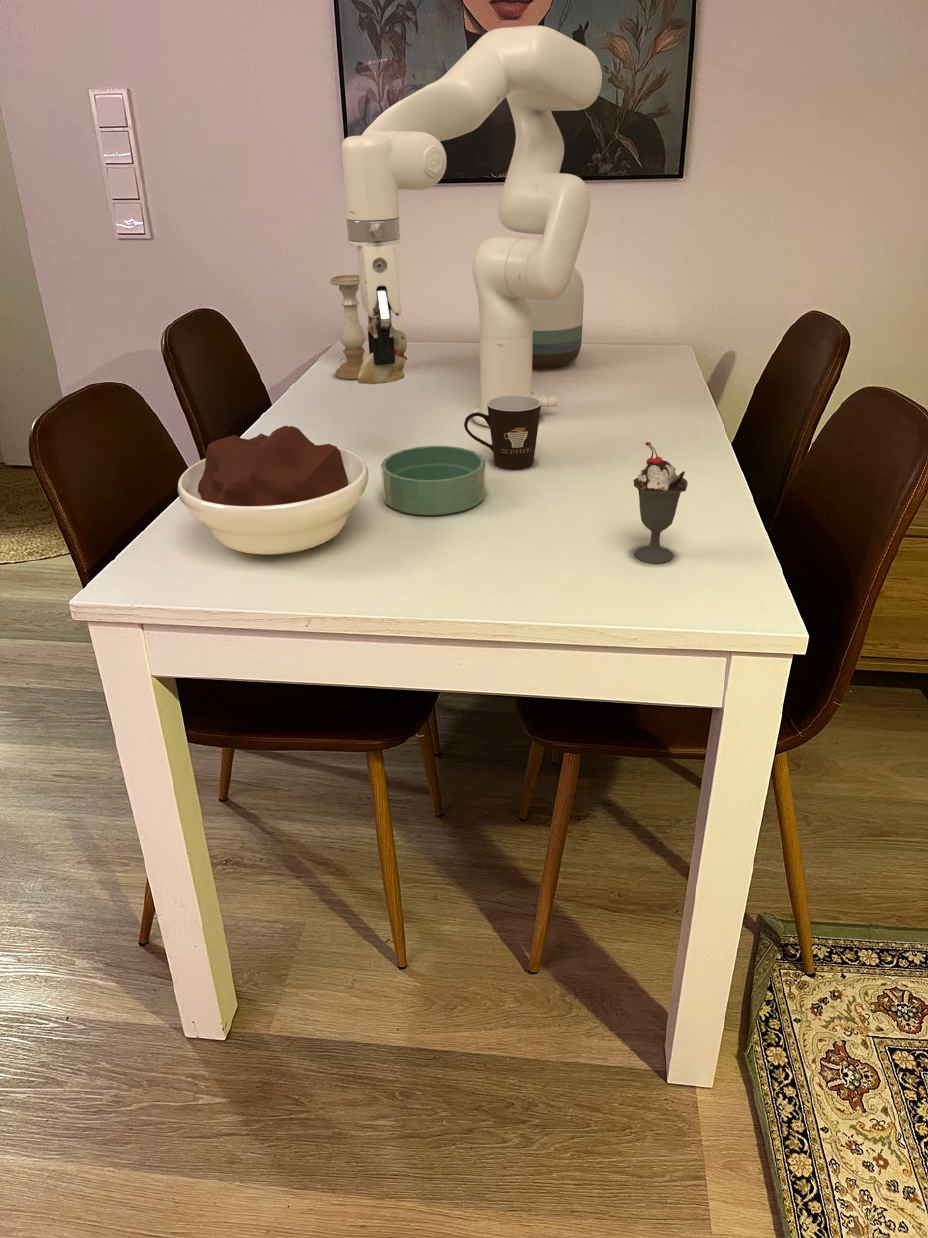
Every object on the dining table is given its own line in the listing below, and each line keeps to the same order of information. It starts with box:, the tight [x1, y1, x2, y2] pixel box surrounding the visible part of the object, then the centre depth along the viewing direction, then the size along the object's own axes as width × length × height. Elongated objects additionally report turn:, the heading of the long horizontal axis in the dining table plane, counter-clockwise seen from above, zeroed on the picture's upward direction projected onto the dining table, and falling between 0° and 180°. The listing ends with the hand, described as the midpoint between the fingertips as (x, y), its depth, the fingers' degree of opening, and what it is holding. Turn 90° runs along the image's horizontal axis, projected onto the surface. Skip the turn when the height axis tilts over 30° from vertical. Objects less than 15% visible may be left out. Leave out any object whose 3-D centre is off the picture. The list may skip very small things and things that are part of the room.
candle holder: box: [329, 274, 366, 380], centre depth 195 cm, size 9×9×20 cm
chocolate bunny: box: [357, 313, 408, 385], centre depth 139 cm, size 6×8×10 cm
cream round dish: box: [176, 425, 369, 556], centre depth 121 cm, size 25×25×15 cm
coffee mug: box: [463, 395, 542, 471], centre depth 147 cm, size 12×9×10 cm
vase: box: [525, 267, 585, 369], centre depth 198 cm, size 17×17×24 cm
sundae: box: [632, 441, 689, 564], centre depth 114 cm, size 7×7×15 cm
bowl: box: [380, 445, 486, 516], centre depth 135 cm, size 15×15×6 cm
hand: (382, 358), depth 140 cm, fingers closed on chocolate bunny, 4 cm apart
